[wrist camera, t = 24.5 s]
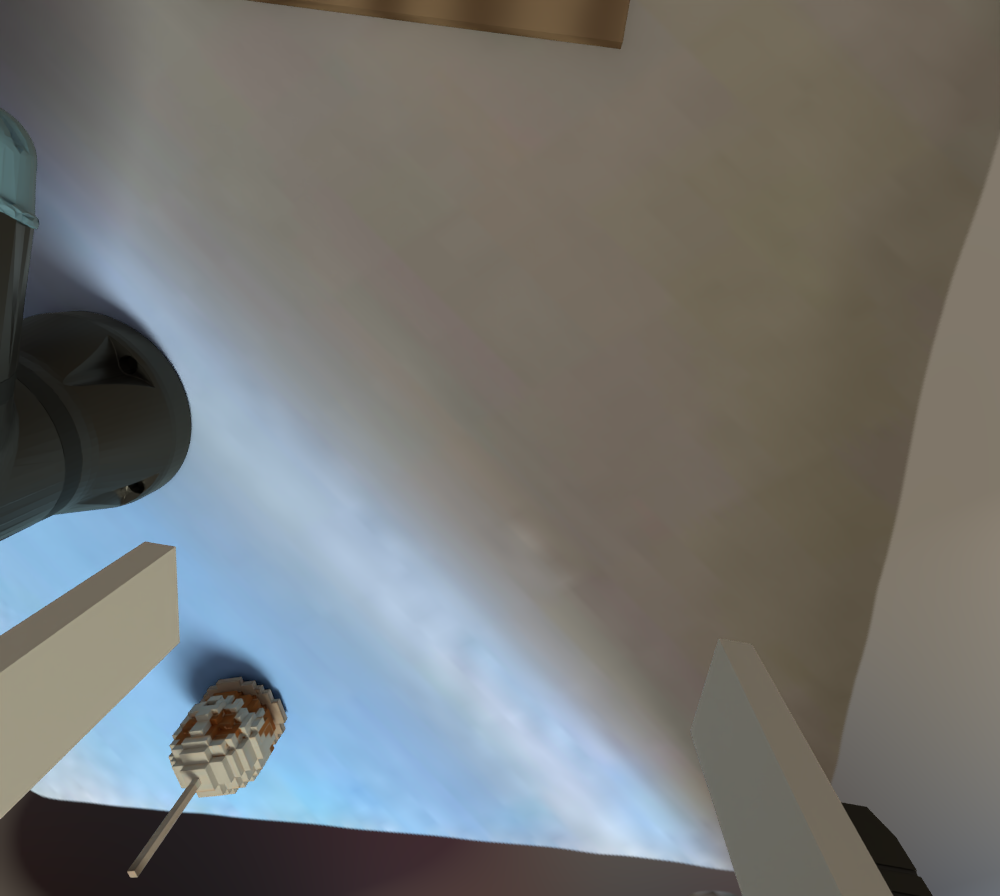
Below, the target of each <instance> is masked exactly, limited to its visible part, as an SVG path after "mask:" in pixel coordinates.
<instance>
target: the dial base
mask: <svg viewBox="0 0 1000 896" xmlns="http://www.w3.org/2000/svg"><path fill="white" fill-rule="evenodd" d="M248 1H256V2H264V3H271V4H279V5H287V6H294V7H302V8H310V9H317V10H325V11H333V12H340V13H348V14H356V15H364V16H371V17H379V18H387V19H394V20H402V21H410V22H417V23H425V24H433V25H440V26H448V27H456V28H464V29H471V30H479V31H487V32H494V33H502V34H510V35H517V36H525V37H533V38H540V39H548V40H556V41H564V42H571V43H579V44H587V45H594V46H602V47H610V48H617V49H621V46H622V42H623V37H624V31H625V25H626V20H627V14H628V8H629V3H630V0H248Z"/></svg>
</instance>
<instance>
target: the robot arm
mask: <svg viewBox="0 0 1000 896" xmlns="http://www.w3.org/2000/svg"><path fill="white" fill-rule="evenodd" d="M36 171H37V155H36V150H35V147H34V144H33V142H32V140H31V138H30V136H29V134H28V133H27V132H26V130H25V129H24V128H23V126H22V125H21V124H20V123H19V122H18V121H17V120H16V119H15V118H14V117H13V116H11V115H10V114H9V113H7V112H6V111H5V110H3V109H1V108H0V541H1V540H3V539H5V538H7V537H9V536H11V535H13V534H15V533H17V532H19V531H21V530H23V529H25V528H28V527H30V526H32V525H34V524H35V523H37V522H39V521H41V520H44V519H46V518H48V517H50V516H52V515H56V514H65V513H73V512H81V511H90V510H98V509H106V508H114V507H119V506H123V505H126V504H129V503H132V502H135V501H137V500H139V499H141V498H143V497H145V496H146V495H148V494H150V493H152V492H154V491H156V490H158V489H159V488H161V487H162V486H164V485H165V484H166V483H167V482H169V481H170V480H171V479H172V478H173V477H174V475H175V474H176V473H177V472H178V470H179V469H180V467H181V465H182V464H183V462H184V460H185V457H186V455H187V452H188V448H189V444H190V438H191V417H190V410H189V405H188V401H187V398H186V395H185V392H184V389H183V387H182V385H181V382H180V380H179V378H178V376H177V375H176V373H175V371H174V370H173V368H172V366H171V365H170V364H169V362H168V361H167V359H166V358H165V357H164V356H163V354H162V353H161V352H160V351H159V350H158V349H157V348H156V347H155V346H154V345H153V344H152V343H151V342H150V341H149V340H148V339H146V338H145V337H144V336H143V335H141V334H140V333H139V332H137V331H136V330H134V329H133V328H131V327H129V326H128V325H126V324H124V323H122V322H120V321H118V320H116V319H113V318H111V317H108V316H105V315H101V314H98V313H92V312H85V311H68V312H53V313H44V314H38V315H34V316H30V317H27V318H24V319H23V312H24V302H25V295H26V287H27V280H28V272H29V265H30V257H31V249H32V242H33V234H34V229H38V227H39V219H38V218H37V217H36V216H35V189H36ZM179 642H180V639H179V616H178V593H177V570H176V547H174V546H168V545H162V544H156V543H150V542H144V543H142V544H141V545H139V546H138V547H136V548H134V549H133V550H131V551H130V552H128V553H127V554H125V555H124V556H122V557H121V558H119V559H118V560H116V561H115V562H113V563H111V564H110V565H108V566H107V567H105V568H104V569H102V570H101V571H99V572H98V573H96V574H95V575H93V576H91V577H90V578H88V579H87V580H85V581H84V582H82V583H81V584H79V585H78V586H76V587H75V588H73V589H72V590H70V591H68V592H67V593H65V594H64V595H62V596H61V597H59V598H58V599H56V600H55V601H53V602H52V603H50V604H48V605H47V606H45V607H44V608H42V609H41V610H39V611H38V612H36V613H35V614H33V615H32V616H30V617H29V618H27V619H25V620H24V621H22V622H21V623H19V624H18V625H16V626H15V627H13V628H12V629H10V630H9V631H7V632H5V633H4V634H2V635H1V636H0V819H1V818H2V817H3V816H4V815H5V814H6V813H7V812H8V811H9V810H10V809H11V808H12V807H13V806H14V805H15V804H16V803H17V802H18V801H19V800H20V799H21V798H22V797H23V796H24V795H25V794H26V793H27V792H28V791H29V790H30V789H31V788H32V787H33V786H34V785H35V784H36V783H37V782H38V781H39V780H41V779H42V778H43V777H44V776H45V775H46V774H47V773H48V772H49V771H50V770H51V769H52V768H53V767H54V766H55V765H56V764H57V763H58V762H59V761H60V760H61V759H62V758H63V757H64V756H65V755H66V754H67V753H68V752H69V751H70V750H71V749H72V748H73V747H74V746H75V745H76V744H77V743H78V742H79V741H80V740H81V739H82V738H83V737H84V736H85V735H86V734H87V733H88V732H89V731H90V730H91V729H92V728H93V727H94V726H95V725H96V724H97V723H98V722H99V721H100V720H101V719H102V718H103V717H104V716H105V715H106V714H107V713H108V712H109V711H110V710H111V709H112V708H114V707H115V706H116V705H117V704H118V703H119V702H120V701H121V700H122V699H123V698H124V697H125V696H126V695H127V694H128V693H129V692H130V691H131V690H132V689H133V688H134V687H135V686H136V685H137V684H138V683H139V682H140V681H141V680H142V679H143V678H144V677H145V676H146V675H147V674H148V673H149V672H150V671H151V670H152V669H153V668H154V667H155V666H156V665H157V664H158V663H159V662H160V661H161V660H162V659H163V658H164V657H165V656H166V655H167V654H168V653H169V652H170V651H171V650H172V649H173V648H174V647H175V646H176V645H177V644H178V643H179ZM690 732H691V736H692V739H693V742H694V745H695V748H696V751H697V755H698V758H699V761H700V764H701V767H702V770H703V773H704V777H705V780H706V783H707V786H708V789H709V792H710V796H711V799H712V802H713V805H714V808H715V811H716V815H717V818H718V821H719V824H720V827H721V830H722V833H723V837H724V840H725V843H726V846H727V849H728V852H729V856H730V859H731V862H732V865H733V868H734V871H735V875H736V878H737V881H738V884H739V887H740V890H741V893H742V896H932V894H931V892H930V891H929V889H928V888H927V886H926V884H925V883H924V881H923V880H922V878H921V877H918V876H917V873H916V871H917V870H916V868H915V867H914V865H913V864H912V862H911V860H910V859H909V857H908V856H907V854H906V852H905V851H904V849H903V848H902V846H901V845H900V843H899V841H898V840H897V838H896V837H895V836H894V835H893V834H892V833H891V832H890V831H889V829H888V828H887V827H886V826H885V825H884V824H882V822H881V821H880V820H879V819H878V818H877V817H876V816H875V815H874V814H873V813H872V812H871V811H870V810H869V809H868V808H867V807H864V806H858V805H853V804H846V803H841V802H840V800H839V798H838V796H837V795H836V793H835V791H834V789H833V788H832V786H831V784H830V782H829V780H828V779H827V777H826V775H825V773H824V772H823V770H822V768H821V766H820V764H819V763H818V761H817V759H816V757H815V755H814V754H813V752H812V750H811V748H810V747H809V745H808V743H807V741H806V739H805V738H804V736H803V734H802V732H801V731H800V729H799V727H798V725H797V723H796V722H795V720H794V718H793V716H792V715H791V713H790V711H789V709H788V707H787V706H786V704H785V702H784V700H783V699H782V697H781V695H780V693H779V691H778V690H777V688H776V686H775V684H774V683H773V681H772V679H771V677H770V675H769V674H768V672H767V670H766V668H765V666H764V665H763V663H762V661H761V659H760V658H759V656H758V654H757V652H756V650H755V649H754V647H753V645H752V644H750V643H744V642H738V641H732V640H726V639H720V638H719V639H718V643H717V646H716V649H715V652H714V656H713V659H712V662H711V665H710V669H709V672H708V675H707V679H706V682H705V685H704V688H703V692H702V695H701V698H700V701H699V705H698V708H697V711H696V715H695V718H694V721H693V724H692V728H691V731H690Z"/></svg>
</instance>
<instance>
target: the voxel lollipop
mask: <svg viewBox="0 0 1000 896" xmlns="http://www.w3.org/2000/svg"><path fill="white" fill-rule="evenodd" d="M203 697H204V698H203V699H202V700H201V701H200V704H195V705H194V706H193V708H192V709H191V710H190V711H189V712H188V715H187V717H186V718H185V719H184V720H183V721H182V723H181V724H180V727H179V728H178V729H177V730H176V732H175V733H174V734H173V735H172V736H173V738H174V741H173V742H172V743H171V744H170V748H171V751H172V753H171V754H170V756H169V759H170V763H171V765H172V768H173V771H174V773H175V775H176V777H177V779H178V781H179V783H180V786H181V788H186V789H185V791H184V792H183V793H182V795H181V796H180V798H179V799H178V800H177V802H176V803H175V805H174V806H173V808H172V809H171V810H170V812H169V813H168V815H167V816H166V817H165V819H164V820H163V822H162V823H161V824H160V826H159V827H158V829H157V830H156V832H155V833H154V834H153V836H152V837H151V839H150V840H149V841H148V843H147V844H146V846H145V847H144V849H143V850H142V851H141V853H140V854H139V856H138V857H137V858H136V860H135V861H134V863H133V864H132V865H131V867H130V868H129V870H128V871H127V872H128V874H129V876H130V877H138V876H139V874H140V873H141V871H142V870H143V868H144V867H145V865H146V864H147V862H148V861H149V860H150V858H151V857H152V855H153V854H154V852H155V851H156V849H157V848H158V846H159V845H160V844H161V842H162V841H163V839H164V838H165V836H166V835H167V833H168V832H169V830H170V829H171V828H172V826H173V825H174V823H175V822H176V820H177V819H178V817H179V816H180V814H181V813H182V812H183V810H184V809H185V807H186V806H187V804H188V803H189V801H190V800H191V798H192V797H193V795H194V794H195V793H196V792H197V795H198V797H209V796H220V795H228V794H235V793H236V792H237V790H238V788H242V787H246V785H247V783H248V782H249V781H254V780H255V779H256V777H257V775H258V774H259V773H260V771H261V769H262V768H263V767H264V765H265V763H266V761H267V760H268V758H269V756H270V755H271V753H272V751H273V749H274V746H273V745H274V744H276V743H277V741H278V739H279V738H280V737H281V735H282V733H283V732H284V731H285V726H284V723H285V722H286V720H287V716H286V713H285V711H284V708H283V706H282V703H281V700H280V699H274V698H273V695H272V692H271V690H270V689H267V690H264V687H263V685H257V684H256V682H255V680H254V681H246V682H244V681H243V679H242V677H236V678H228V679H220V680H219V681H218V682H217V683H216V685H215V686H210V687H209V688H208V689H207V692H206V694H205V695H204V696H203Z"/></svg>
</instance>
